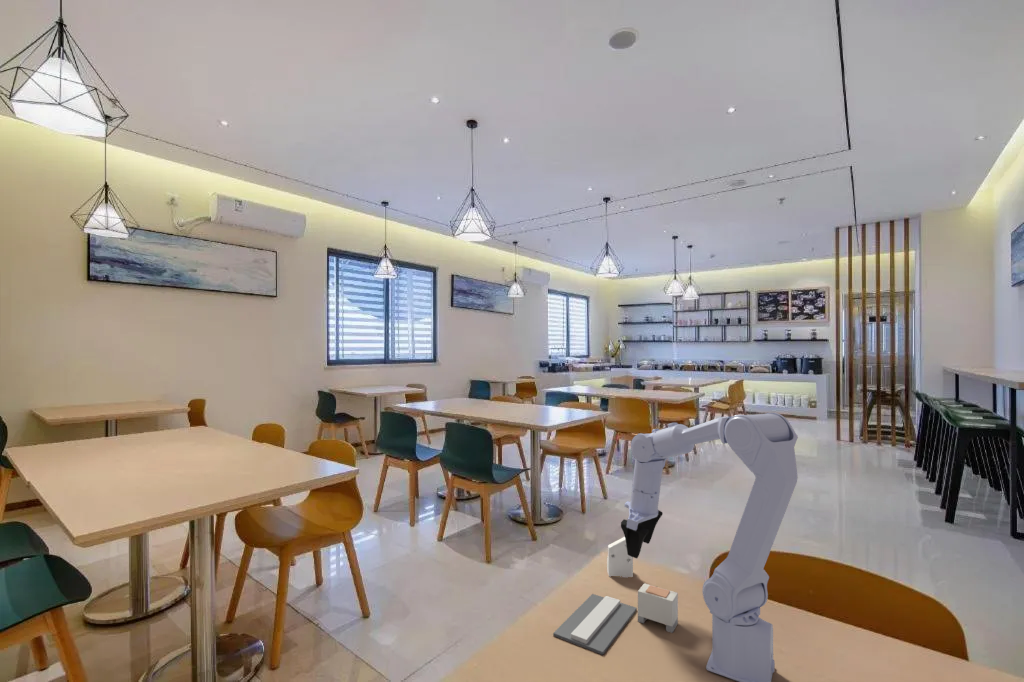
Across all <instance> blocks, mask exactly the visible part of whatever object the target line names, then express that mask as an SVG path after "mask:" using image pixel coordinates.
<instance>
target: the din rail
mask: <svg viewBox="0 0 1024 682" xmlns="http://www.w3.org/2000/svg"><path fill="white" fill-rule="evenodd" d="M637 611H638V607H635V606H633V605H629V604H626V603H624V602H621V600H620V599H618V598H614V597H611V596H607V595H606V596H604V597H603V596H601V595H598V594H594V593H592V594H590V596H588V597H587V599H586V600H584V602H583V603H582V604H580V606H578V608H577V609H576V610H574V612H573V613H572V614H570V616H568V617H567V619H565V620H564V622H563V623H562V624H561V625H560V626H559V627H558V628H557V629H555V631H554V632H553V633H552V634H553V637H556V638H559V639H560V640H563V641H567V642H568V643H571V644H574V645H576V646H579V647H581V648H584V649H586V650H589V651H592V652H594V653H597V654H600V655H603V656H604V654H605V653H606V651H608V649H609V647H611V644H613V642H614V641H615V639H617V637H618V636H619V635H620V633H621V632H622V631H623V629H624V628H625V626H626V625H627V623H628V622H629V621H630V619H631V618H632V617H633V615H634V614H635V613H636V612H637Z"/></svg>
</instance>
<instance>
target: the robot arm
mask: <svg viewBox="0 0 1024 682" xmlns="http://www.w3.org/2000/svg"><path fill="white" fill-rule="evenodd" d="M667 425H668V426H667V427H665V428H662V429H660V428H653V429H652V430H651V433H637V434H636V435H634V436H633V438H632V439H631V442H630V450H631V454H632V457H634V458H635V459H634V460H635V461H634V468H633V475H632V476H633V477H632V486H631V495H630V501H629V500H628V501H626V502H624V508H626V509H628V518H627V519H625V518H623V520H622V521H621V522H620V528H621V529H622V533H623V535H624V537H625V539H626V546H627V553H628V555H629V556H631V557H633V559H638V557H639V556H640V553H641V551H642V547H643V544H644V543H645V544H650V542H651V540H652V537H653V534H654V531H655V528H656V527H657V524H658V522H659V521H660V519H661V517H662V516H663V511H662V510H659V502H660V493H661V485H662V484H661V483H662V477H663V469H664V468H665V467H666V462H667V460H668V459H669V458H673V457H677V456H682V455H687V454H690V453H691V452H692V451H693V450H694V448H695V446H696V445H698V444H703V443H708V442H712V441H716V440H720V441H721V444H727V445H728V446H729V447H730V449H731V450H732V451H733V452H734V454H736V456H737V457H738V458H739V459H740V460H741V461H742V463H743V464H744V465H745V467H747V468H748V470H749V471H750V472H751V473H753V475H754V477H755V479H754V482H753V485H752V487H751V491H750V493H749V497H748V499H747V502H746V503H745V504H746V505H745V506H744V507H745V508H744V509H743V512H742V516H741V518H740V520H739V523H738V526H737V529H736V533H735V535H734V538H733V541H732V544H731V546H730V549H729V551H728V554H727V556H726V558H725V559H724V560H723V561H722V562H721V563H719V565H717V567H715V568H714V571H713V574H712V575H711V576H710V577H709V578H707V579H706V580H705V581H704V582H703V584H702V596H703V600H704V602H705V605H706V606H707V608H708V610H709V613H710V614H711V615H712V616H711V623H712V625H711V626H712V627H711V630H712V631H711V633H712V634H711V635H712V639H711V640H712V642H711V643H712V646H711V647H712V649H711V652H710V656H709V658H708V660H707V663H706V666H705V669H706V670H707V671H708V672H711V673H714V674H717V675H720V676H722V677H726V678H727V679H730V680H733V681H736V682H772V680H773V673H775V668H776V667H775V664H776V663H775V659H774V625H773V624H772V623H771V622H770V621H769V622H768V621H767V620H765V619H763V618H761V617H760V615H761V608H762V607H763V606H765V605H766V603H767V601H768V598H769V597H768V596H769V594H768V583H769V579H770V576H769V574H768V573H767V572H766V570H765V569H764V568H765V565H766V563H767V561H768V558H769V556H770V553H771V550H772V548H773V545H774V542H775V540H776V538H777V535H778V532H779V529H780V527H781V525H782V521H783V519H784V517H785V514H786V511H787V510H788V509H787V508H788V506H789V504H790V502H791V498H792V496H793V494H794V491H795V489H796V485H797V483H798V479H799V477H798V467H797V459H796V452H795V450H796V449H795V446H796V443H797V440H798V438H799V437H798V435H797V433H796V431H795V430H794V428H793V426H792V425H791V422H789V420H788V419H787V417H785V416H783V415H782V414H780V413H778V412H766V413H759V414H758V413H756V414H735V415H732V416H730V415H729V416H721V417H717V418H714V419H712V420H708V421H705V422H702V423H700V424H696V425H694V426H690V427H689V426H687V425H686V424H685V425H684V424H682V423H678V422H671V423H668V424H667Z"/></svg>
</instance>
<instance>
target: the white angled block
mask: <svg viewBox="0 0 1024 682" xmlns="http://www.w3.org/2000/svg"><path fill="white" fill-rule="evenodd" d="M606 569H607V570H606V572H607V575H609V576H608V577H611V576H620V577H619V578H628V577H633V578H634V557H631V556H629V555H628V553H627V546H626V539H625V536H623V537H621V538H620V539H617V540H615V541H614V542H612V543H610V544H608V545H607V557H606ZM621 576H622V577H621Z"/></svg>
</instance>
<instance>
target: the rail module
mask: <svg viewBox="0 0 1024 682" xmlns="http://www.w3.org/2000/svg"><path fill="white" fill-rule="evenodd" d="M678 599H679V593H678V592H677V591H673V590H671V589H670V590H669V589H666V588H663V587H658V586H654V585H652V584H648V583H643V584H642V586H640V588H639V589H638V590H637V622H638V623H641V624H645V622H646V621H647V620H650V621H653V622H657V623H660V624H663V625H665V631H666V632H668V633H671V634H673V633H674V631H675V629H676V627H677V625H678V624H679V617H678V616H679V615H678V614H679V604H678V603H679V600H678Z"/></svg>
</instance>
